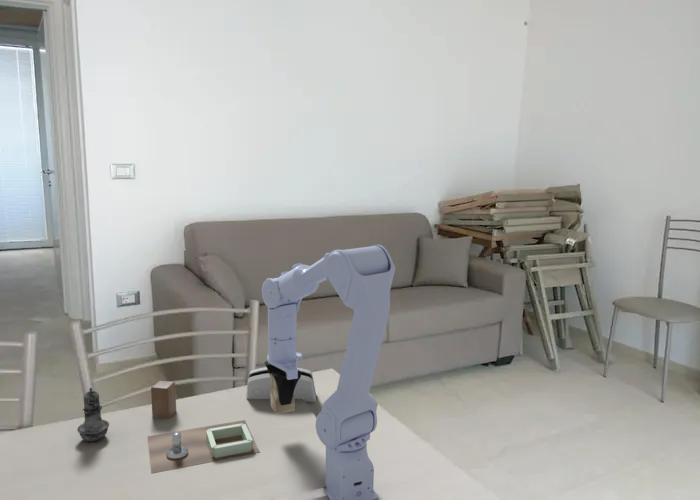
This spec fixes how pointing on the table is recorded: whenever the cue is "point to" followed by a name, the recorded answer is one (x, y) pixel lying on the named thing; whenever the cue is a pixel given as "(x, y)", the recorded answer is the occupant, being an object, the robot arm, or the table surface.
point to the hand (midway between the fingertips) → (282, 399)
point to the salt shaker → (92, 418)
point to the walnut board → (190, 448)
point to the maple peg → (275, 399)
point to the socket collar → (229, 447)
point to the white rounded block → (261, 387)
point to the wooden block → (163, 399)
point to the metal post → (176, 448)
